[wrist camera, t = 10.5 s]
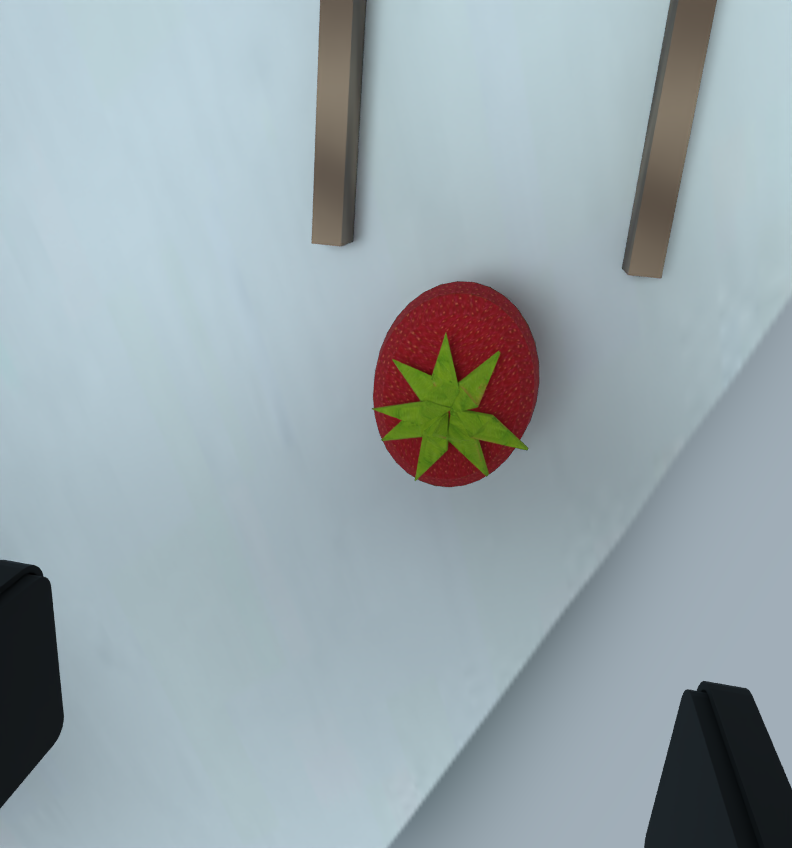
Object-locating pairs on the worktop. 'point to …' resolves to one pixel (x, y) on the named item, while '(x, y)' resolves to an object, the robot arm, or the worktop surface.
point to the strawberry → (455, 384)
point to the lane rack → (660, 152)
